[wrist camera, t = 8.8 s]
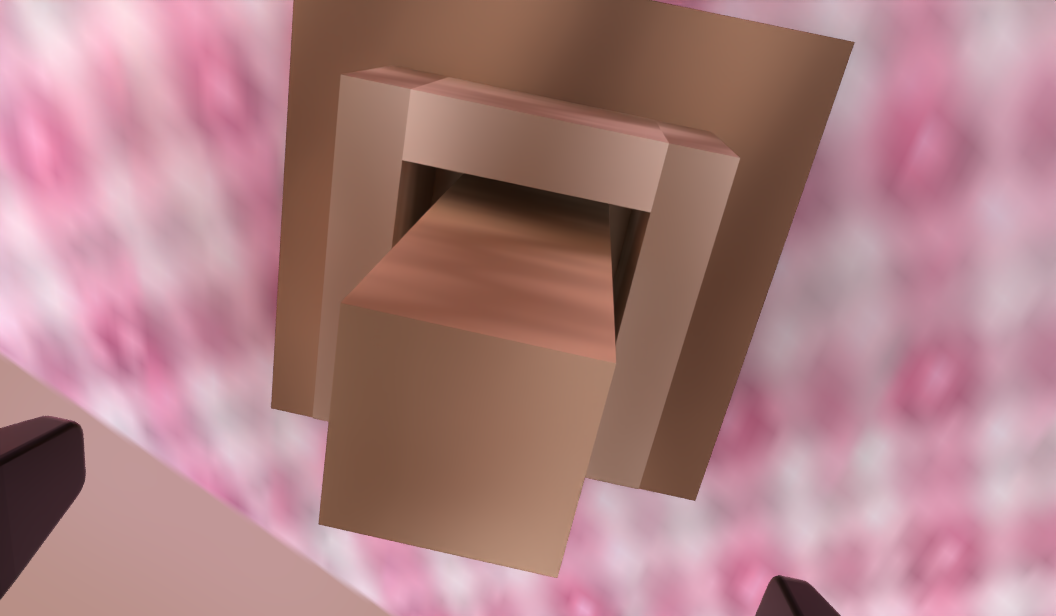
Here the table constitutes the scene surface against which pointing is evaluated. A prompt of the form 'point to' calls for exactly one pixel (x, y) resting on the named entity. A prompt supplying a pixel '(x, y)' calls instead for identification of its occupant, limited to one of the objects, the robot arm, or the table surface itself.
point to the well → (560, 180)
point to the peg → (475, 377)
